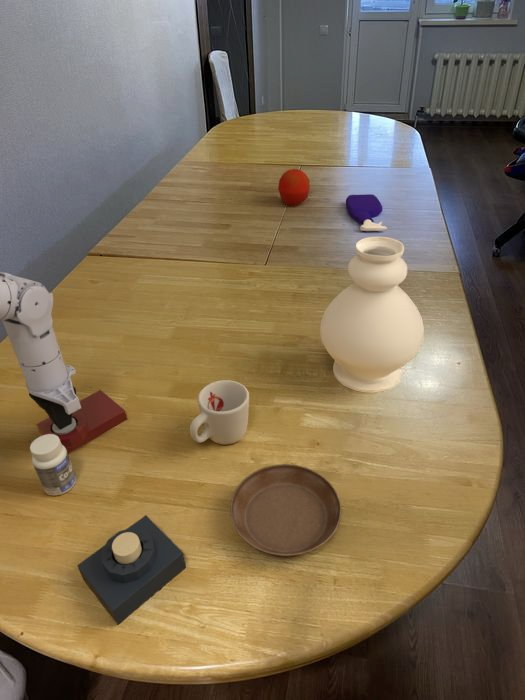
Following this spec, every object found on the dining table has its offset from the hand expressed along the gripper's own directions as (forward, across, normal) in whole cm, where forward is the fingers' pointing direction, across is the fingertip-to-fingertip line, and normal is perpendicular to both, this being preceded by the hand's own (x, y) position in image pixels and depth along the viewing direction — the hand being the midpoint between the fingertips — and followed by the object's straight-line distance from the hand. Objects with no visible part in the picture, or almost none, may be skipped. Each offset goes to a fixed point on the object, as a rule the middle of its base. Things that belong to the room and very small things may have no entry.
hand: (64, 424), depth 81 cm
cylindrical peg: (-1, -27, +5) cm, 28 cm away
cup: (+4, -17, -18) cm, 25 cm away
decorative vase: (+4, -24, -48) cm, 53 cm away
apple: (+4, +46, -104) cm, 114 cm away
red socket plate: (+4, +2, -4) cm, 6 cm away
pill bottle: (+4, -7, +5) cm, 9 cm away
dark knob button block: (+4, -27, +6) cm, 28 cm away
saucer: (+4, -35, -14) cm, 38 cm away
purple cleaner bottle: (+4, +21, -110) cm, 112 cm away
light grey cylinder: (+2, 0, 0) cm, 2 cm away
